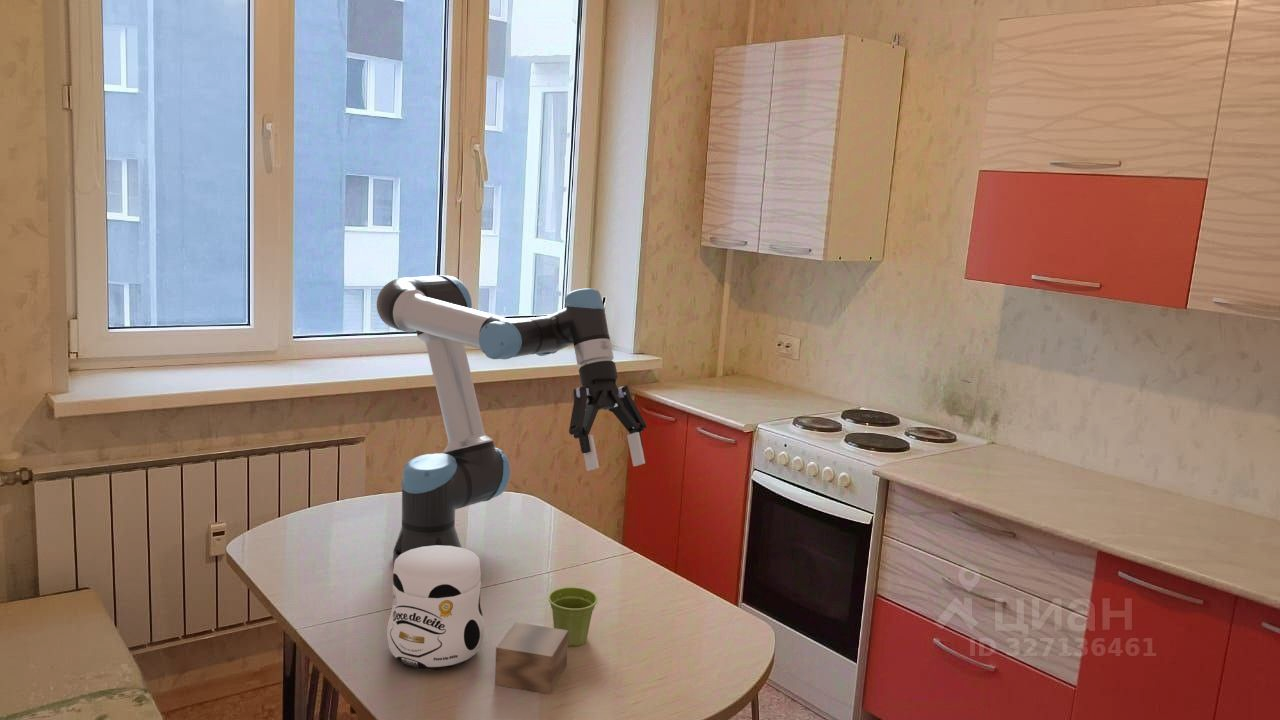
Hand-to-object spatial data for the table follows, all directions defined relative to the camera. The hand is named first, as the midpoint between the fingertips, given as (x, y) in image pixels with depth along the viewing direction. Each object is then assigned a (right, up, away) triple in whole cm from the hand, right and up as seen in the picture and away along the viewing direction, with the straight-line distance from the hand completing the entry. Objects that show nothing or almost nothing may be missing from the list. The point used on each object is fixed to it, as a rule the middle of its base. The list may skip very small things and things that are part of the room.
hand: (616, 467), depth 192 cm
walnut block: (-15, -35, -20) cm, 43 cm away
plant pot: (-9, -33, -6) cm, 34 cm away
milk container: (-33, -33, -15) cm, 49 cm away
